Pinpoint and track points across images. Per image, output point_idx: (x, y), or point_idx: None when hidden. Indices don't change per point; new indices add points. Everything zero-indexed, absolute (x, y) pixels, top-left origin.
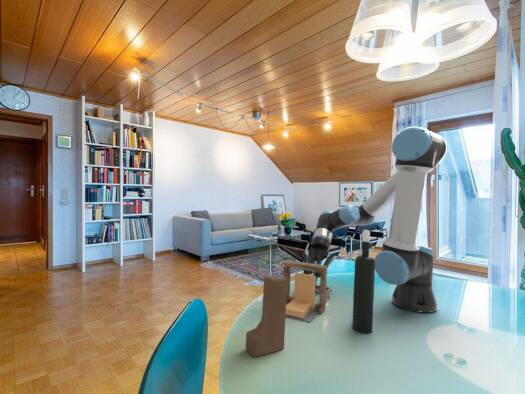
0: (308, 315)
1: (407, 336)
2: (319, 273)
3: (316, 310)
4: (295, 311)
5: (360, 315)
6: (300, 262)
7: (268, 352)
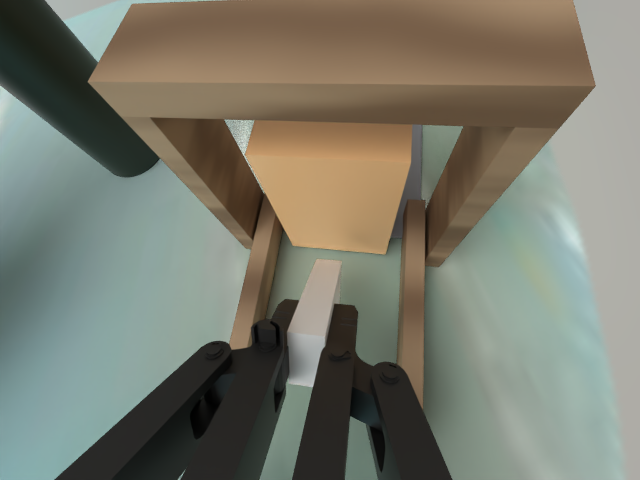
0: None
1: (17, 169)
2: (224, 348)
3: None
4: None
5: None
6: (390, 64)
7: None
